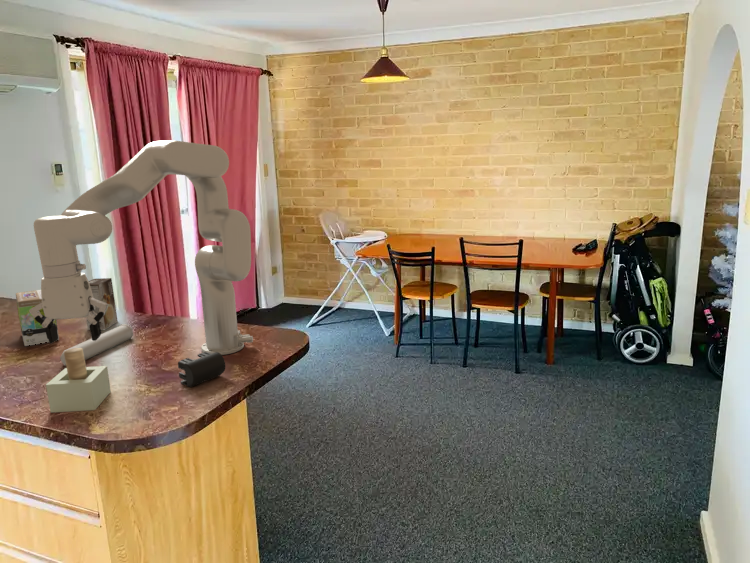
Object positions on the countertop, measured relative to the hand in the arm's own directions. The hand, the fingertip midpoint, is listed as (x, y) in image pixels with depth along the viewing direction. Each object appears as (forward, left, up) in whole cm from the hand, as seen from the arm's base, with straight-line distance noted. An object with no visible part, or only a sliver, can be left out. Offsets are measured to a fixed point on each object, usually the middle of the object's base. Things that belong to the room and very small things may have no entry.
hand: (75, 340), depth 132 cm
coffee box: (+18, -61, -16) cm, 66 cm away
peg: (0, +1, -15) cm, 15 cm away
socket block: (0, +1, -16) cm, 16 cm away
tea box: (+35, -52, -16) cm, 64 cm away
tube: (+10, -35, -16) cm, 40 cm away
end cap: (-27, -8, -16) cm, 32 cm away
